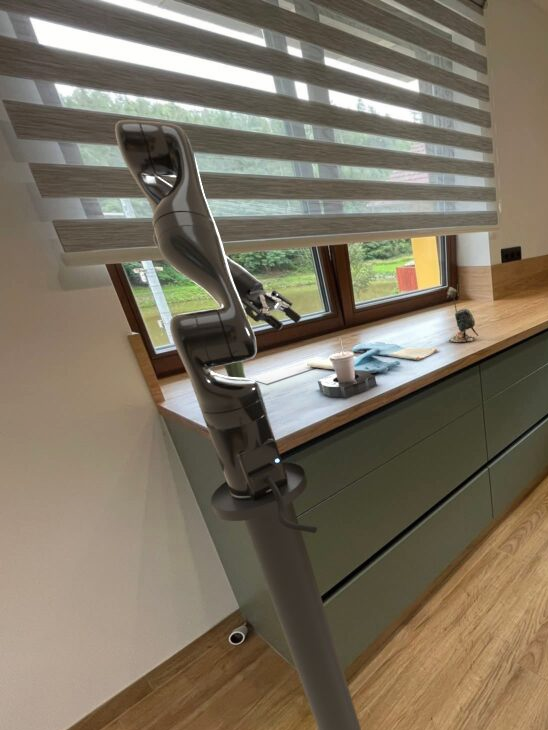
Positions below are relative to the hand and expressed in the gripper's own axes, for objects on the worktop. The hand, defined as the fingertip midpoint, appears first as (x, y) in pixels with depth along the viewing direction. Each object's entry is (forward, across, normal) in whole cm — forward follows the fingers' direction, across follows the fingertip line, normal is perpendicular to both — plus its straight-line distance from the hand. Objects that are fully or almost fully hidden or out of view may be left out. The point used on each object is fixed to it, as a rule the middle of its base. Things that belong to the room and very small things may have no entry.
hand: (290, 323), depth 112 cm
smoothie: (+22, 0, +5) cm, 22 cm away
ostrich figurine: (+39, +45, -12) cm, 61 cm away
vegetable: (-2, -9, +14) cm, 17 cm away
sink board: (+22, 0, +5) cm, 22 cm away
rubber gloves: (+20, +26, +7) cm, 34 cm away
